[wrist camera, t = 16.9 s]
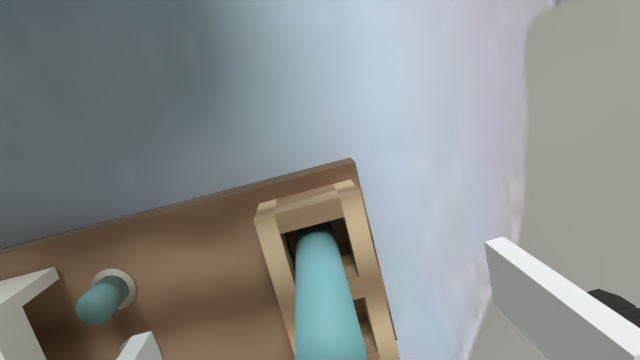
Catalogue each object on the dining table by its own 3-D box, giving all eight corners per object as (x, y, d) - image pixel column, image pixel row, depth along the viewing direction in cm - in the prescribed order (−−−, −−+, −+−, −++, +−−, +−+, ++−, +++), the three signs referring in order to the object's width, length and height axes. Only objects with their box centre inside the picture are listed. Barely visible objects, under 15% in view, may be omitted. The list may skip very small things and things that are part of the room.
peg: (291, 222, 25) (285, 337, 13) (328, 212, 25) (357, 317, 13) (301, 257, 25) (305, 397, 14) (338, 247, 25) (374, 378, 14)
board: (-25, 255, 26) (-108, 296, 20) (350, 157, 26) (364, 172, 21) (51, 414, 29) (-5, 487, 23) (390, 324, 29) (411, 374, 24)
